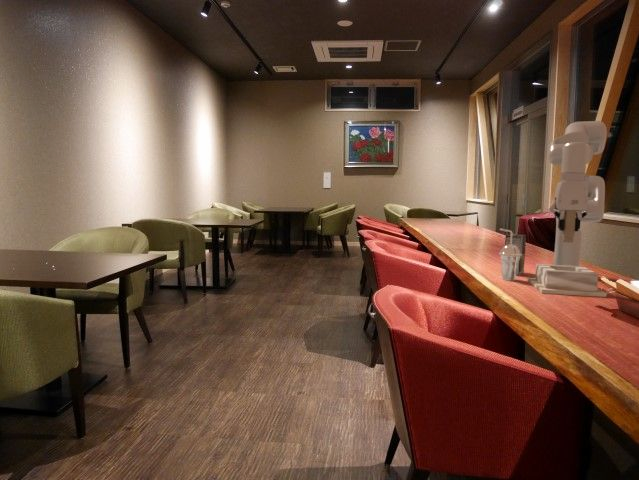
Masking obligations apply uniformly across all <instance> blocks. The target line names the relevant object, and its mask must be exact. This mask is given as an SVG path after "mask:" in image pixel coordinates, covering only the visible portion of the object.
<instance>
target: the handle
mask: <svg viewBox="0 0 639 480" xmlns="http://www.w3.org/2000/svg"><path fill="white" fill-rule="evenodd" d="M571 201H572V202H573V203H570V204H571V205H574V204H578V203H579V202H578V200H571ZM575 215H576V211H565V213H564V220H565V222H564V231H562V234H563V242H567V243H572V242H573V238H574V233H575Z"/></svg>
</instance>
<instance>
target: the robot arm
mask: <svg viewBox="0 0 639 480" xmlns="http://www.w3.org/2000/svg"><path fill="white" fill-rule="evenodd" d="M607 131H608V130H607V126H606V124H605V123H604V122H603V121H600V120H592V121H591V120H589V121H585V120H584V121H574V122H572V123H570V124H568V126H566V128H565V130H564V134H563V135H560V136H557V137H556V138H553V140H552V141H551V143H550V145H549V149H548V153H547V154H548V156H547V159H548V161H549V163H550V164H551V165H555V166H556V165H557V166H561V172H560V181H559V182H557V184H556V187H555V191H554V192H555V193H554V199H553V203H552V204H551V206H550V207H549V208H548V211H549V212H550V213H552V214H553V215H554V216H555V222H556V223H555V224H556V225H555V242H554V253H553V265H568V266H580V262H581V261H580V260H581V258H580V257H581V250H582V249H581V246H582V231H581V229H580V228H581V223H589V224H591V223H592V224H593V223H600V222H601V221H602V220H603V219H604V214H605V199H606V198H605V197H606V196H605V195H606V184H605V180H604V178H603V177H602V176H599V175H587V173H586V170H587V165H588V164H589V163H590V162H591V161H592V160H593V156H594V155H600V154H602V153H603V151H605V150H604V149H605V146H606V142H607V136H608V132H607ZM571 200H578V202H579V203H578V204H574V205H571V204H570V203H573V202H572V201H571ZM565 211H576V215H575V233H574V238H573V242H572V243H567V242H563V234H562V231H564V222H565V220H564V213H565Z"/></svg>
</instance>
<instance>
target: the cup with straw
mask: <svg viewBox="0 0 639 480" xmlns="http://www.w3.org/2000/svg"><path fill="white" fill-rule="evenodd" d="M498 230H499V231H503V232H509V234H511V236H510V244H507V245H505V244H504V246H503V247H502V248H501V250H499V252H498V256H499V255H500V262H501V275H502V280H503V281H507V282H508V281H510V282H511V281H513V282H514V281H515V278H516V276H517V275H516V271H517V266H518V262H519V259H520V256H522V253H520V250H519V248H518V247H517V246H516V245H513V244H512V235H513V234H514V233H513V231H512V230H510V229H505V228H498Z"/></svg>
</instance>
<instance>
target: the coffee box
mask: <svg viewBox="0 0 639 480" xmlns="http://www.w3.org/2000/svg"><path fill="white" fill-rule="evenodd" d="M510 236H511V233H509V234H507V235H505V243H504V246H505V245H507V244H510ZM526 243H527V235H526V234H520V233H519V234H518V233H513V235H512V244H513V245H516V246H517V247H518V248H519V250H520V253H522V256H520V259H519V262H518V266H517V271H516V276H520V275H522V274H524V272H525V258H526Z"/></svg>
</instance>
